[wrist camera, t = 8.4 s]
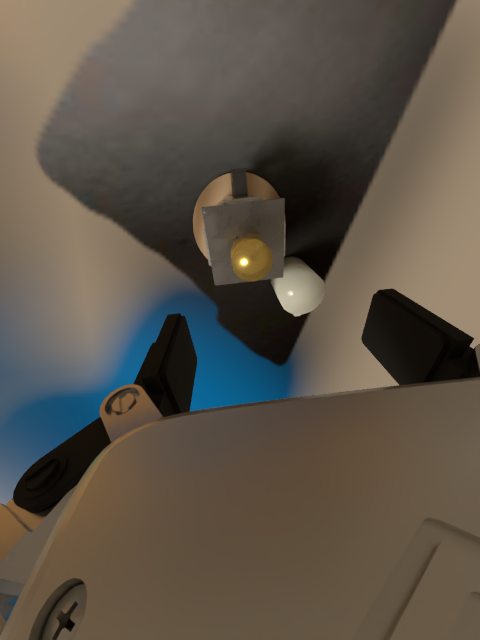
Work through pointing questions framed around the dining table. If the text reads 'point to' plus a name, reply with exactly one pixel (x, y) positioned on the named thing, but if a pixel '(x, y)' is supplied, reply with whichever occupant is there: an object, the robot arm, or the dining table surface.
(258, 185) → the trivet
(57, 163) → the dining table surface
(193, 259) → the dining table surface
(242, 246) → the plunger
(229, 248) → the grey handled container
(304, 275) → the mug
